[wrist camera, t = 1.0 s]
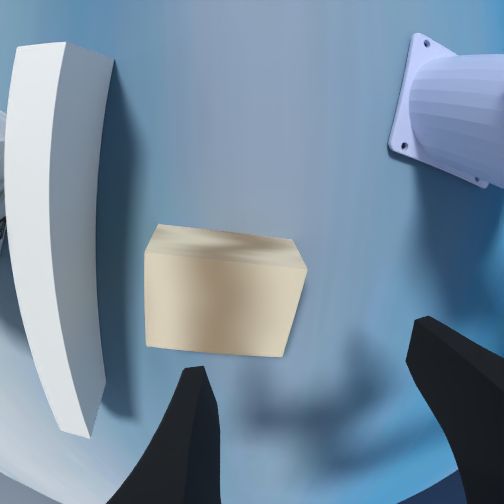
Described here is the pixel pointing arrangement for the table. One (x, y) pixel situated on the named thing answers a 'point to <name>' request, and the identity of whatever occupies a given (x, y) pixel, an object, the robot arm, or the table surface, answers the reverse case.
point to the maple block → (221, 291)
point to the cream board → (58, 219)
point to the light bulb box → (2, 177)
